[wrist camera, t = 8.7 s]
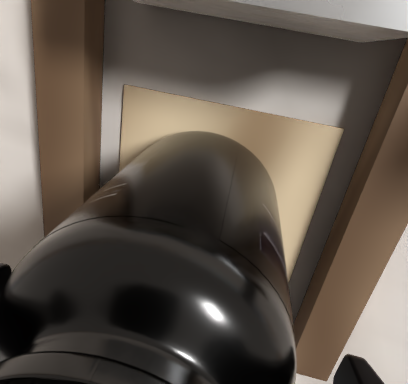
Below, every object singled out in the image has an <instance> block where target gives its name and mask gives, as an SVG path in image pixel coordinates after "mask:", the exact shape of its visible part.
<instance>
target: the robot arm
mask: <svg viewBox="0 0 408 384" xmlns="http://www.w3.org/2000/svg"><path fill="white" fill-rule="evenodd" d="M11 274H12V272H11V268H10V266H9V265H7V264H3V263H0V297H1V294H2V292H3V289H4V287H5V285H6V282H7V280H8V279H9V277H10V275H11ZM333 384H384V382H383V381H382V380H381V379H380V377H379V376H378V375H377V374H376V372H375V371H374V370H373V369H372V367H371V366H370V365H369V364H368V362H367V361H366V360H365V359H363V358H361V357H357V356H354V355H350V354H347V355H345V356H344V358H343V360H342V362H341V363H340V365H339V367H338V369H337V371H336V373H335V375H334V380H333Z"/></svg>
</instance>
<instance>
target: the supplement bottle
mask: <svg viewBox="0 0 408 384" xmlns="http://www.w3.org/2000/svg"><path fill="white" fill-rule="evenodd" d="M296 371H297V363H296V345H295V332H294V324H293V317H292V309H291V301H290V294H289V286H288V278H287V270H286V263H285V255H284V247H283V240H282V232H281V224H280V217H279V209H278V203H277V198H276V192H275V189H274V185H273V183H272V180H271V178H270V176H269V174H268V172H267V170H266V168H265V167H264V165H263V164H262V163H261V162H260V160H259V159H258V158H257V157H256V156H255V155H254V154H253V153H252V152H251V151H250V150H248V149H247V148H246V147H245V146H243V145H241V144H240V143H238V142H236V141H235V140H233V139H231V138H228V137H226V136H223V135H220V134H216V133H211V132H205V131H187V132H181V133H176V134H173V135H170V136H167V137H165V138H163V139H161V140H159V141H157V142H155V143H154V144H152V145H151V146H149V147H148V148H147V149H146V150H144V151H143V152H142V153H141V154H139V155H138V156H137V157H136V158H135V159H134V160H132V161H131V162H130V163H129V164H128V165H127V166H126V167H124V168H123V169H122V170H121V171H120V172H119V173H118V174H116V175H115V176H114V177H113V178H112V179H111V180H110V181H108V182H107V183H106V184H105V185H104V186H103V187H102V188H100V189H99V190H98V191H97V192H96V193H95V194H94V195H92V196H91V197H90V198H89V199H88V200H87V201H86V202H84V203H83V204H82V205H81V206H80V207H79V208H78V209H76V210H75V211H74V212H73V213H72V214H71V215H70V216H68V217H67V218H66V219H65V220H64V221H63V222H62V223H60V224H59V225H58V226H57V227H56V228H55V229H54V230H52V231H51V232H50V233H49V234H48V235H47V236H46V237H45V238H43V239H42V240H41V241H40V242H39V243H38V244H37V245H36V246H35V247H34V248H33V249H32V250H31V251H30V252H29V253H28V254H27V255H26V256H25V257H24V258H23V259H22V260H21V261H20V263H19V264H18V265H17V266H16V267H15V269H14V270H13V272H12V274H11V275H10V277H9V279H8V280H7V282H6V285H5V287H4V289H3V292H2V294H1V297H0V384H295V380H296Z"/></svg>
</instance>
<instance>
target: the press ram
mask: <svg viewBox="0 0 408 384" xmlns="http://www.w3.org/2000/svg"><path fill="white" fill-rule="evenodd" d="M133 1H136V2H138V3H141V4H147V5H153V6H158V7H164V8H170V9H175V10H181V11H186V12H192V13H198V14H203V15H209V16H215V17H220V18H226V19H231V20H237V21H243V22H248V23H254V24H260V25H265V26H271V27H276V28H282V29H288V30H293V31H299V32H305V33H310V34H316V35H321V36H327V37H333V38H338V39H344V40H350V41H355V42H361V43H362V42H372V41H381V40H391V39H400V38H408V0H133Z"/></svg>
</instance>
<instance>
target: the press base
mask: <svg viewBox="0 0 408 384" xmlns="http://www.w3.org/2000/svg"><path fill="white" fill-rule="evenodd" d="M104 9H105V0H31V12H32V30H33V47H34V65H35V83H36V100H37V118H38V135H39V153H40V170H41V188H42V205H43V223H44V238H45V237H46V236H47V235H48V234H49V233H50V232H51V231H52V230H54V229H55V228H56V227H57V226H58V225H59V224H60V223H62V222H63V221H64V220H65V219H66V218H67V217H68V216H70V215H71V214H72V213H73V212H74V211H75V210H76V209H78V208H79V207H80V206H81V205H82V204H83V203H84V202H86V201H87V200H88V199H89V198H90V197H91V196H92V195H94V194H95V193H96V192H97V191H98V190H99V182H100V147H101V113H102V78H103V44H104ZM187 131H205V132H211V133H216V134H220V135H223V136H226V137H228V138H231V139H233V140H235V141H236V142H238V143H240V144H241V145H243V146H245V147H246V148H247V149H248V150H250V151H251V152H252V153H253V154H254V155H255V156H256V157H257V158H258V159H259V160H260V162H261V163H262V164H263V165H264V167H265V168H266V170H267V172H268V174H269V176H270V178H271V180H272V183H273V185H274V189H275V192H276V198H277V203H278V209H279V217H280V224H281V232H282V240H283V247H284V255H285V263H286V270H287V278H288V283H289V280H290V278H291V275H292V272H293V269H294V266H295V264H296V261H297V258H298V255H299V253H300V250H301V247H302V244H303V242H304V239H305V236H306V233H307V230H308V228H309V225H310V222H311V219H312V217H313V214H314V211H315V208H316V205H317V203H318V200H319V197H320V194H321V192H322V189H323V186H324V183H325V181H326V178H327V175H328V172H329V169H330V167H331V164H332V161H333V158H334V156H335V153H336V150H337V147H338V145H339V142H340V139H341V136H342V133H343V131H344V129H343V128H338V127H333V126H328V125H323V124H318V123H313V122H308V121H303V120H298V119H293V118H288V117H283V116H278V115H273V114H268V113H263V112H259V111H254V110H249V109H244V108H239V107H234V106H229V105H224V104H219V103H214V102H209V101H204V100H199V99H194V98H189V97H184V96H179V95H174V94H169V93H165V92H160V91H155V90H150V89H145V88H140V87H135V86H130V85H124V96H123V114H122V131H121V149H120V166H119V172H120V171H121V170H122V169H123V168H124V167H126V166H127V165H128V164H129V163H130V162H131V161H132V160H134V159H135V158H136V157H137V156H138V155H139V154H141V153H142V152H143V151H144V150H146V149H147V148H148V147H149V146H151V145H152V144H154V143H155V142H157V141H159V140H161V139H163V138H165V137H167V136H170V135H173V134H176V133H181V132H187ZM407 224H408V38H407V41H406V43H405V46H404V48H403V51H402V53H401V56H400V58H399V61H398V63H397V66H396V68H395V71H394V73H393V76H392V78H391V81H390V83H389V86H388V88H387V91H386V94H385V96H384V99H383V101H382V104H381V106H380V109H379V111H378V114H377V116H376V119H375V121H374V124H373V126H372V129H371V131H370V134H369V136H368V139H367V141H366V144H365V146H364V149H363V151H362V154H361V156H360V159H359V161H358V164H357V166H356V169H355V171H354V174H353V176H352V179H351V181H350V184H349V186H348V189H347V191H346V194H345V197H344V199H343V202H342V204H341V207H340V209H339V212H338V214H337V217H336V219H335V222H334V224H333V227H332V229H331V232H330V234H329V237H328V239H327V242H326V244H325V247H324V249H323V252H322V254H321V257H320V259H319V262H318V264H317V267H316V269H315V272H314V274H313V277H312V279H311V282H310V284H309V287H308V289H307V292H306V294H305V297H304V300H303V302H302V305H301V307H300V310H299V312H298V315H297V317H296V320H295V322H294V332H295V345H296V363H297V371H296V373H298V374H301V375H305V376H309V377H312V378H316V379H320V380H323V381H327V380H328V378H329V376H330V374H331V372H332V370H333V368H334V366H335V364H336V362H337V360H338V358H339V356H340V354H341V352H342V350H343V348H344V346H345V344H346V343H347V341H348V339H349V337H350V335H351V333H352V331H353V329H354V327H355V325H356V323H357V321H358V319H359V317H360V315H361V313H362V311H363V309H364V308H365V306H366V304H367V302H368V300H369V298H370V296H371V294H372V292H373V290H374V288H375V286H376V284H377V282H378V280H379V278H380V276H381V274H382V273H383V271H384V269H385V267H386V265H387V263H388V261H389V259H390V257H391V255H392V253H393V251H394V249H395V247H396V245H397V243H398V241H399V239H400V237H401V236H402V234H403V232H404V230H405V228H406V226H407Z"/></svg>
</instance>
